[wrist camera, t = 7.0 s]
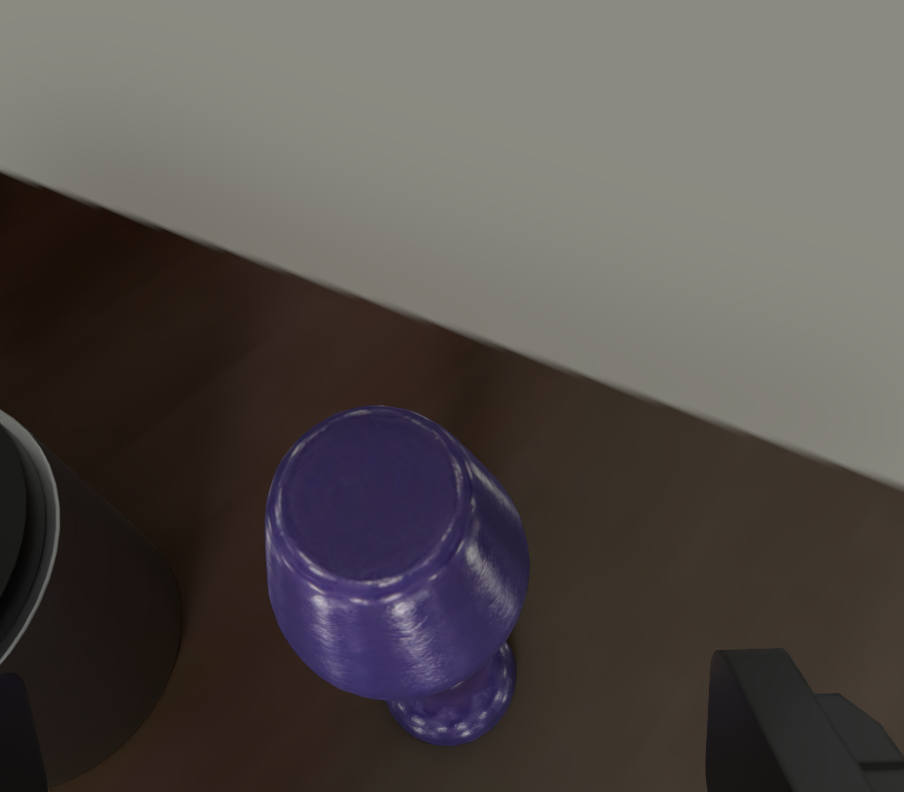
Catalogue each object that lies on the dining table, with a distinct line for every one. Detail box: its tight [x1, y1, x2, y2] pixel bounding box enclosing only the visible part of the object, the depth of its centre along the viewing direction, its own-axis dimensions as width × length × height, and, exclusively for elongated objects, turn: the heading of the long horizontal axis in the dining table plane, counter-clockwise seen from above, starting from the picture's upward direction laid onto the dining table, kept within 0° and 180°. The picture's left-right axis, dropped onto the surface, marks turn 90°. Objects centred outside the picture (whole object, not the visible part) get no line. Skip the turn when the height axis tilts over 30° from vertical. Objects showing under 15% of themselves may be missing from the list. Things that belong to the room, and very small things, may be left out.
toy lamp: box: [265, 405, 530, 746], centre depth 19 cm, size 5×5×17 cm
